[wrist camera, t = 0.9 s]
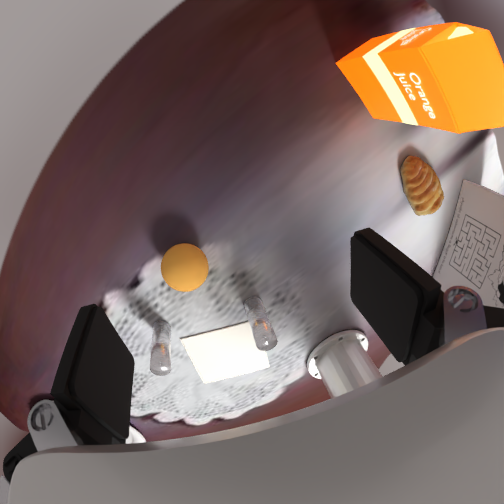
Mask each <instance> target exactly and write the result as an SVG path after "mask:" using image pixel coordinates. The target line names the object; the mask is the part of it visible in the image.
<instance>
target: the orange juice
mask: <svg viewBox="0 0 504 504" xmlns="http://www.w3.org/2000/svg"><path fill="white" fill-rule="evenodd" d="M336 64H337V66H338V67H339V68H340V70H341V71H342V72H343V74H344V75H345V77H346V78H347V79H348V81H349V82H350V84H351V85H352V86H353V88H354V89H355V91H356V92H357V94H358V95H359V97H360V98H361V100H362V101H363V103H364V104H365V106H366V107H367V109H368V111H369V112H370V114H371V115H372V117H373V118H375V119H383V120H390V121H397V122H403V123H407V124H413V125H421V126H426V127H432V128H436V129H441V130H446V131H450V132H454V133H457V134H461V133H464V132H470V131H476V130H483V129H490V128H498V127H504V65H503V62H502V59H501V57H500V54H499V52H498V49H497V47H496V45H495V42H494V40H493V38H492V36H491V33H490V31H488V30H485V29H482V28H478V27H474V26H470V25H465V24H461V23H457V22H453V23H445V24H438V25H431V26H425V27H419V28H412V29H407V30H402V31H400V32H395V33H391V34H387V35H383V36H379V37H375V38H372V39H371V40H369V41H367V42H366V43H364V44H363V45H361V46H360V47H358V48H357V49H355V50H354V51H352V52H351V53H349V54H348V55H346V56H345V57H344V58H342V59H341V60H339V61H338V62H336Z"/></svg>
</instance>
